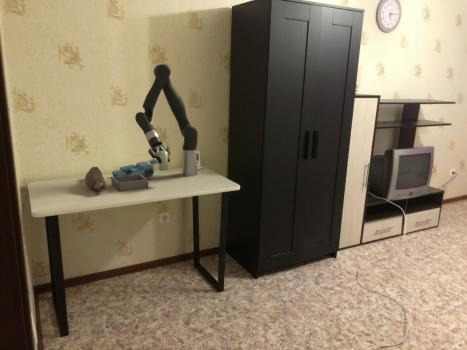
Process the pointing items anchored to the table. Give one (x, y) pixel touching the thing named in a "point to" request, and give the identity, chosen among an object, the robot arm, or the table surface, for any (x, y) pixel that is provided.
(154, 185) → the table surface
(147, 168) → the toy
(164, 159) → the pale green rounded knob
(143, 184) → the bin
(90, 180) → the cassava root
